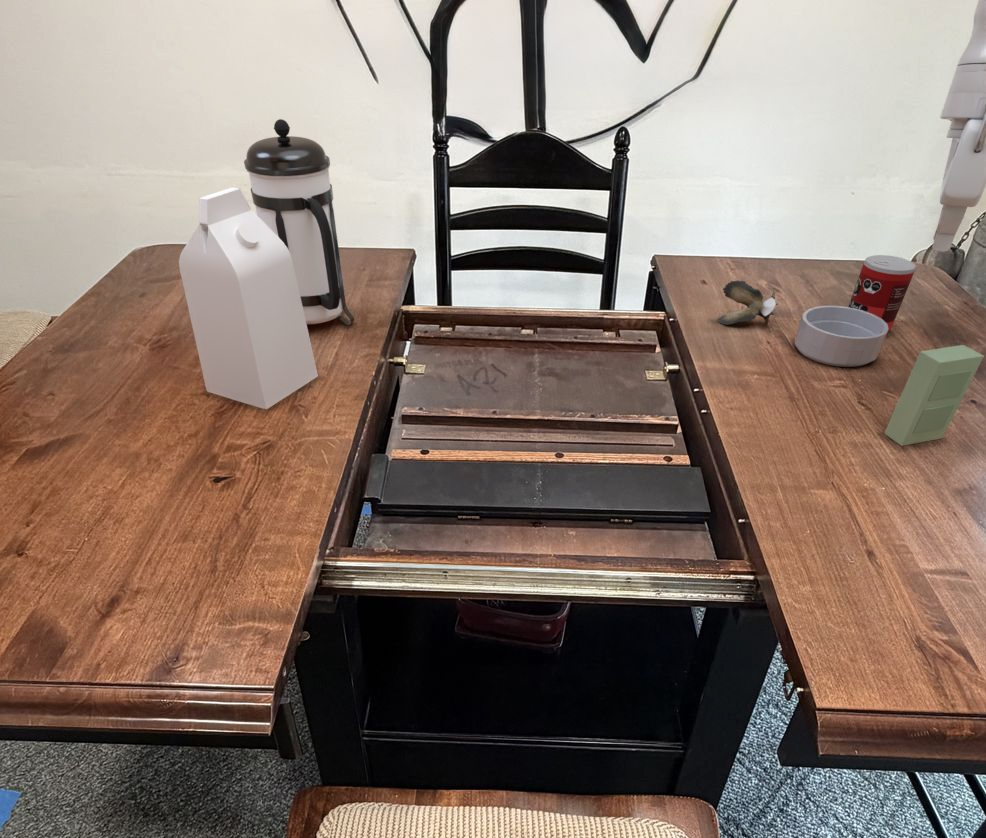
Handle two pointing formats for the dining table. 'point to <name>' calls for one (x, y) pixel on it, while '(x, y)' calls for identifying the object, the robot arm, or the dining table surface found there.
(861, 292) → the canned food
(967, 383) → the toy door
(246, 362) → the milk
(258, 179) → the coffee press
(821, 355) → the bowl
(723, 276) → the dining table surface
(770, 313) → the eagle figurine
